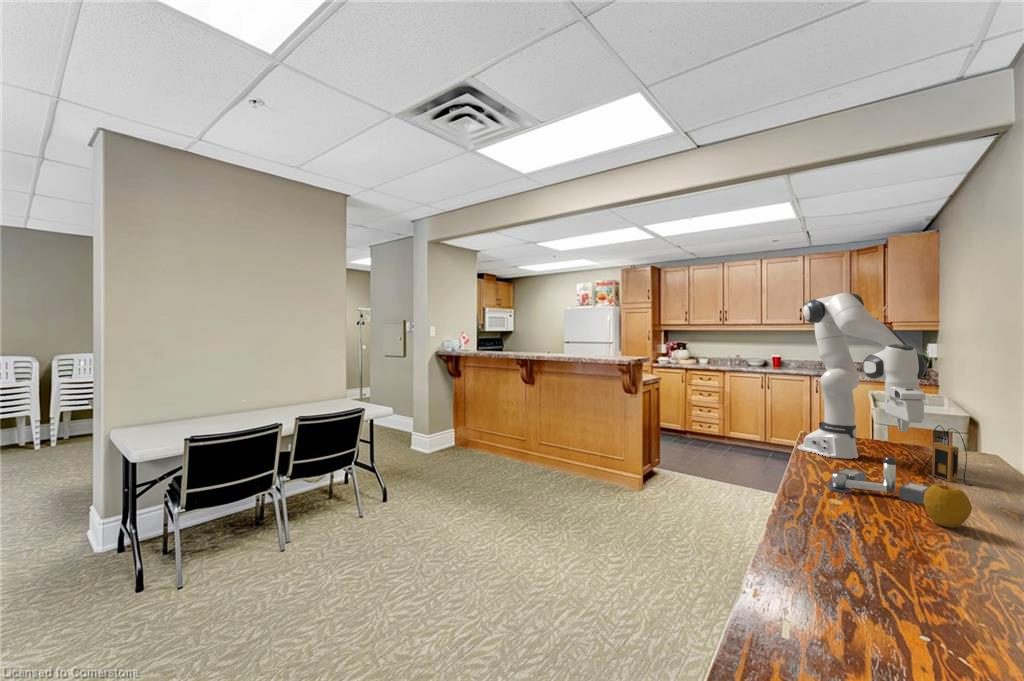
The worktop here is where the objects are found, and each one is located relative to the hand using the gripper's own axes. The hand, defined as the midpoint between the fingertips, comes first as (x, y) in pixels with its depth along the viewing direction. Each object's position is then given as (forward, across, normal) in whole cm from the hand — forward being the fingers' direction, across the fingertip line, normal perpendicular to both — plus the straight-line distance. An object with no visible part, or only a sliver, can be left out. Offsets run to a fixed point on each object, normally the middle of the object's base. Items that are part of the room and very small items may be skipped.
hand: (902, 431), depth 149 cm
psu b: (+20, -3, -14) cm, 25 cm away
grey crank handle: (+19, +6, -14) cm, 25 cm away
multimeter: (+22, -24, +23) cm, 40 cm away
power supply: (+21, +6, +1) cm, 22 cm away
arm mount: (+20, +6, -20) cm, 30 cm away
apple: (+22, +27, 0) cm, 35 cm away
